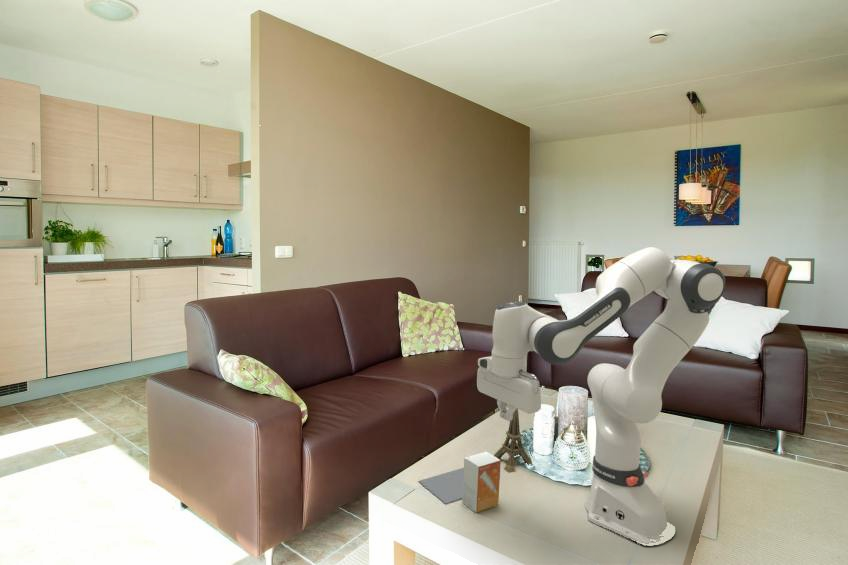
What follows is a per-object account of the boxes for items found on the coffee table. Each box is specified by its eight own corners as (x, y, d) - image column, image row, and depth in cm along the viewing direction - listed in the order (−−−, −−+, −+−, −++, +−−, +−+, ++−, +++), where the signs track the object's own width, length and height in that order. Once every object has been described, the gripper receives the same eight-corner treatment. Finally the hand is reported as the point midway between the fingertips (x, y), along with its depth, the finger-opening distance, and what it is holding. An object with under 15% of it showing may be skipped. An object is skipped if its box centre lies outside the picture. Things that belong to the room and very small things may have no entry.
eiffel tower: (535, 466, 157) (540, 391, 154) (508, 473, 152) (512, 395, 150) (515, 453, 166) (519, 381, 164) (489, 458, 162) (493, 385, 159)
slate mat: (498, 486, 143) (498, 485, 143) (445, 504, 133) (445, 503, 133) (468, 467, 155) (468, 466, 155) (418, 481, 145) (418, 480, 145)
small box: (476, 513, 129) (478, 466, 128) (461, 502, 134) (463, 457, 133) (499, 505, 134) (501, 459, 132) (484, 494, 139) (486, 450, 138)
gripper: (548, 374, 116) (545, 430, 117) (491, 355, 133) (489, 404, 134) (529, 378, 112) (526, 436, 114) (473, 357, 130) (471, 408, 131)
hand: (506, 418), depth 124 cm, fingers closed
